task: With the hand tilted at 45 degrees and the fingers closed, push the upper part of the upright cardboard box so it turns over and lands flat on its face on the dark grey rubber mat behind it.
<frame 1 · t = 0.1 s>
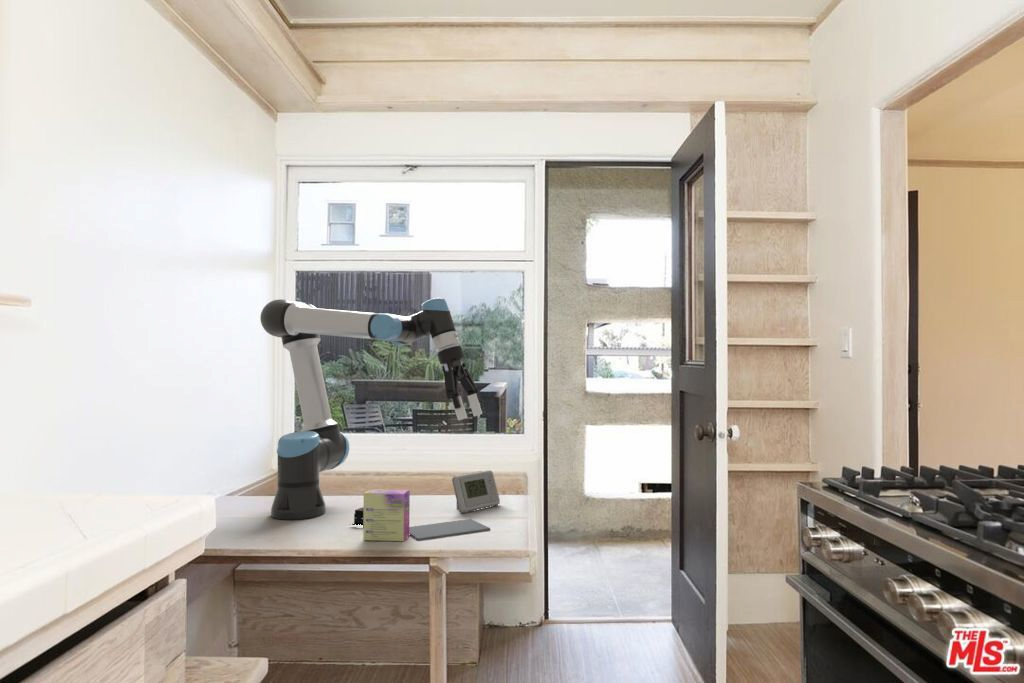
hand: (470, 417, 195), 28 cm above the table, tool tilted 20°, fingers open, 13 cm apart
digital clock: (476, 509, 199), on the table
box: (386, 539, 166), on the table
black slotted mount bracket: (363, 526, 182), on the table
mat: (445, 530, 174), on the table
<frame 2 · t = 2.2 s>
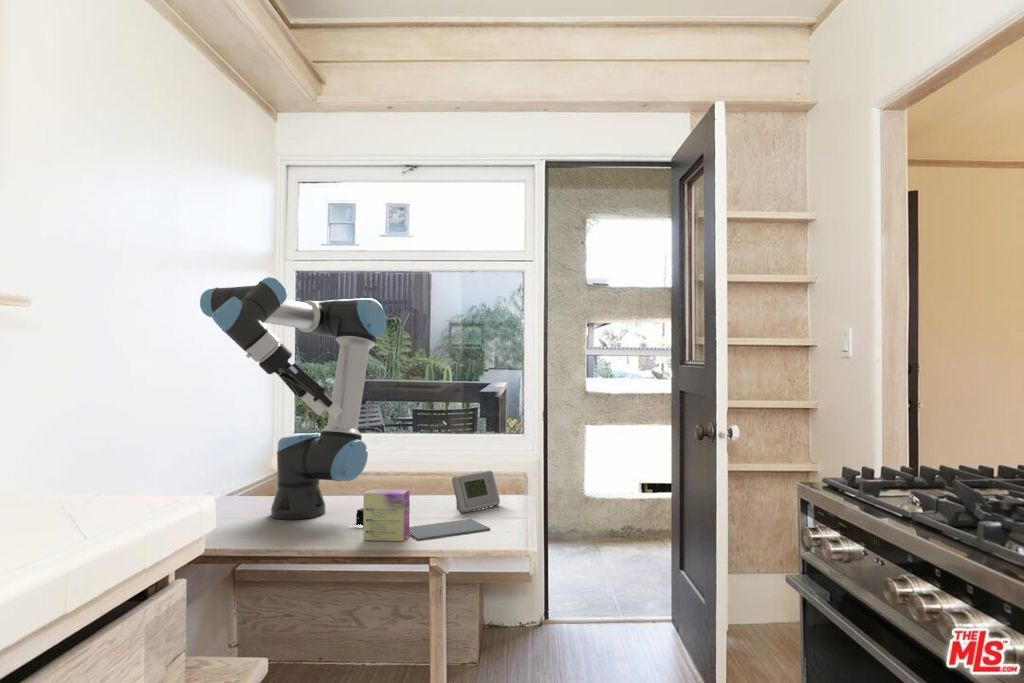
hand: (330, 413, 168), 31 cm above the table, tool tilted 45°, fingers open, 13 cm apart
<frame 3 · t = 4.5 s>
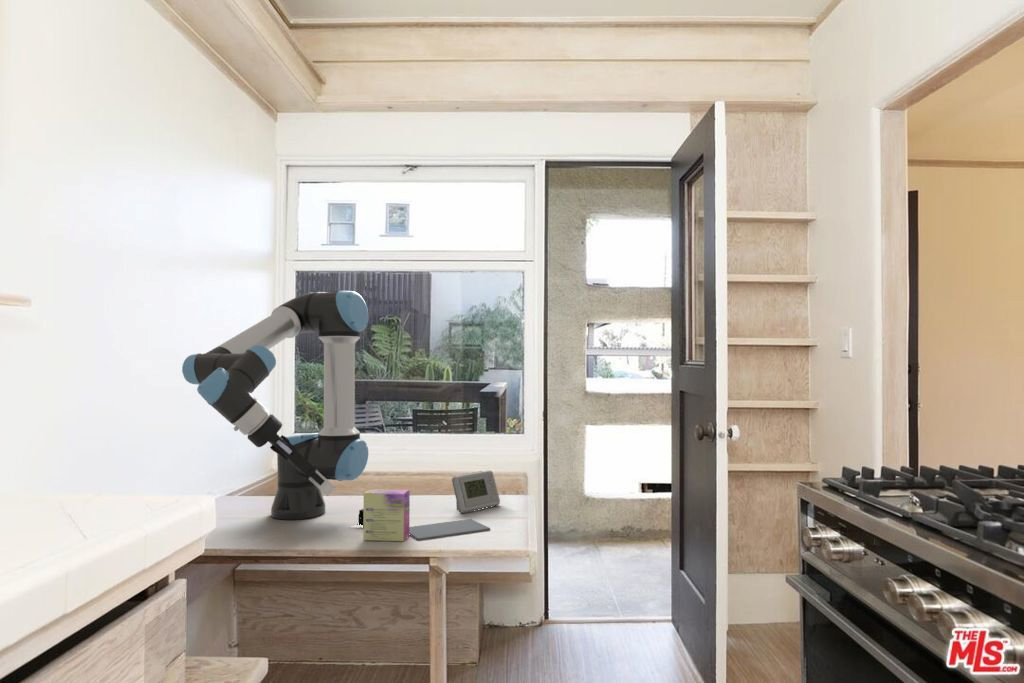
hand: (330, 491, 160), 13 cm above the table, tool tilted 45°, fingers closed
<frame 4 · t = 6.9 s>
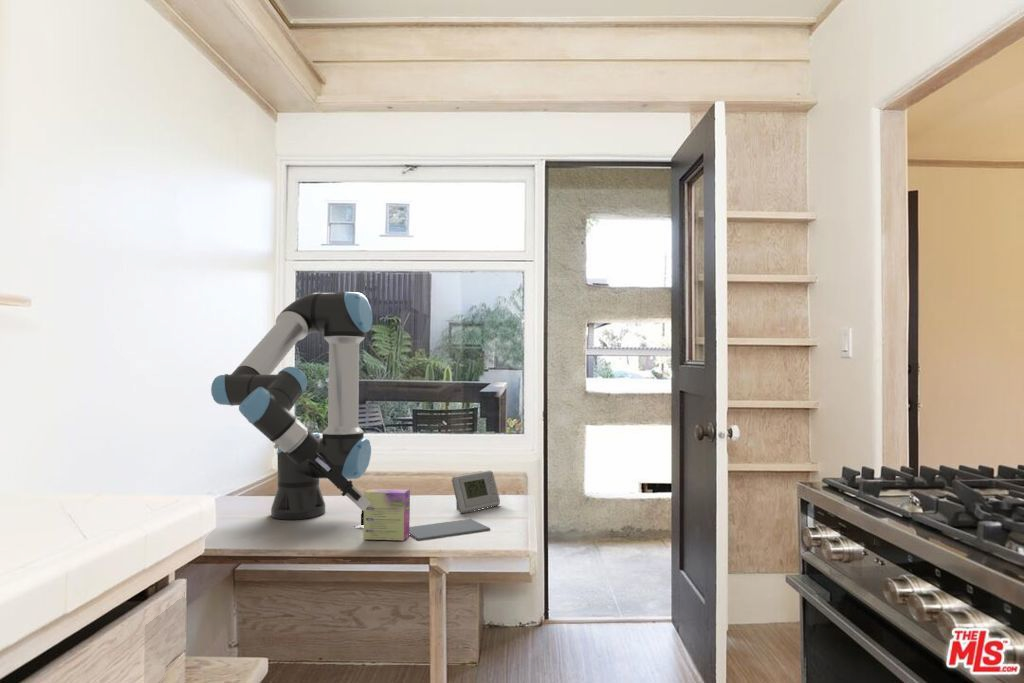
hand: (366, 506, 163), 9 cm above the table, tool tilted 45°, fingers closed
box: (386, 538, 166), on the table, touching gripper
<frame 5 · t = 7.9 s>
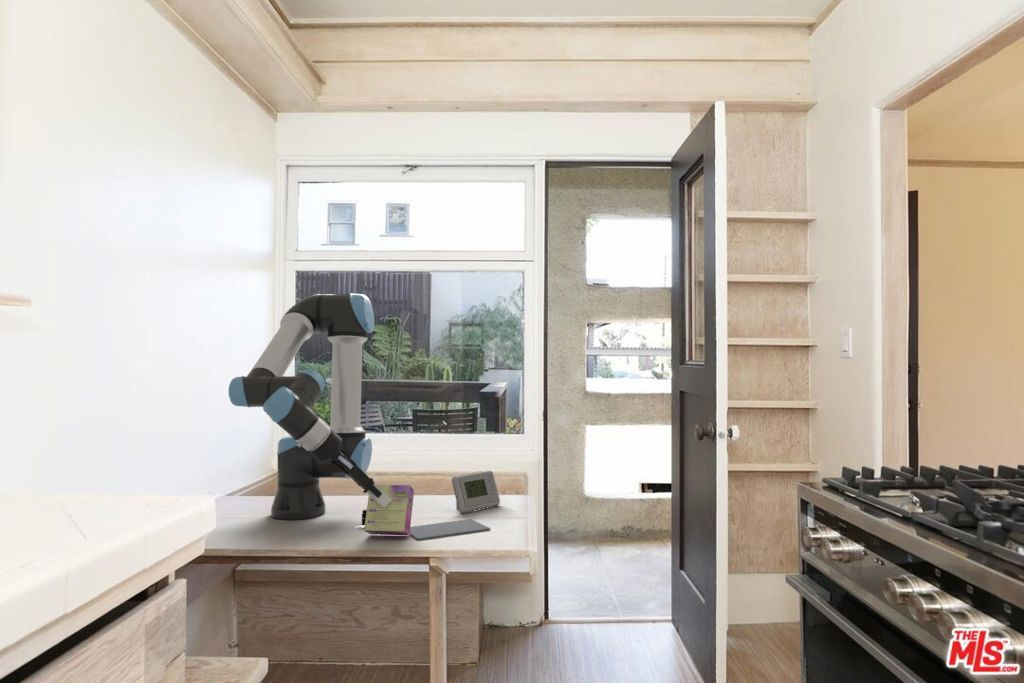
hand: (387, 503, 166), 9 cm above the table, tool tilted 45°, fingers closed
box: (386, 534, 167), point 1 cm above the table
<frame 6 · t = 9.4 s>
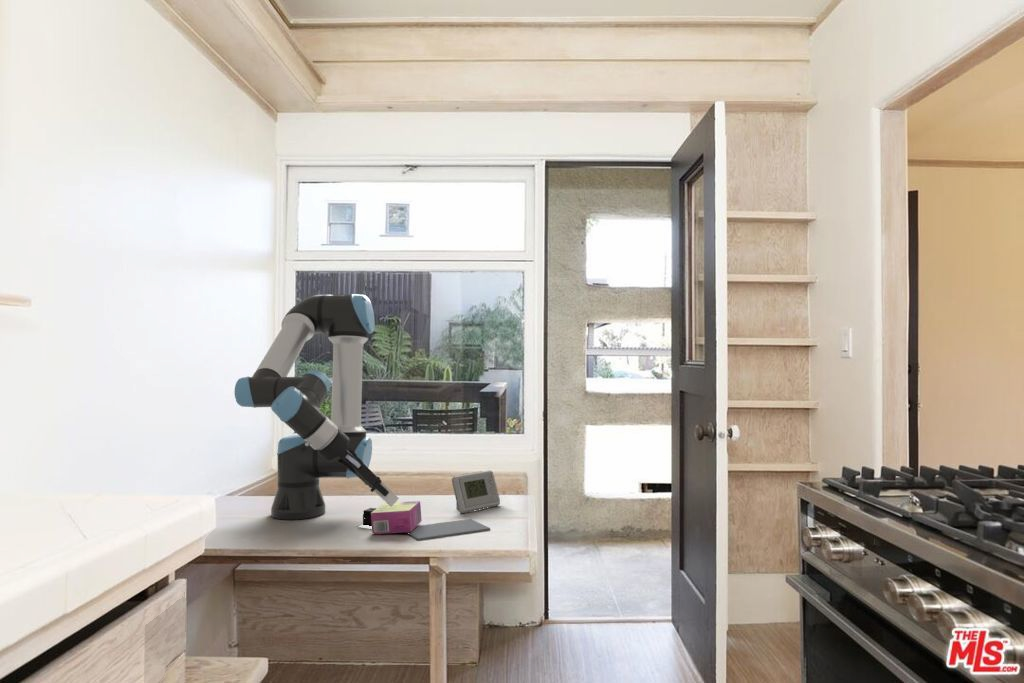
hand: (394, 501, 168), 9 cm above the table, tool tilted 45°, fingers closed
box: (390, 523, 169), point 3 cm above the table, touching mat
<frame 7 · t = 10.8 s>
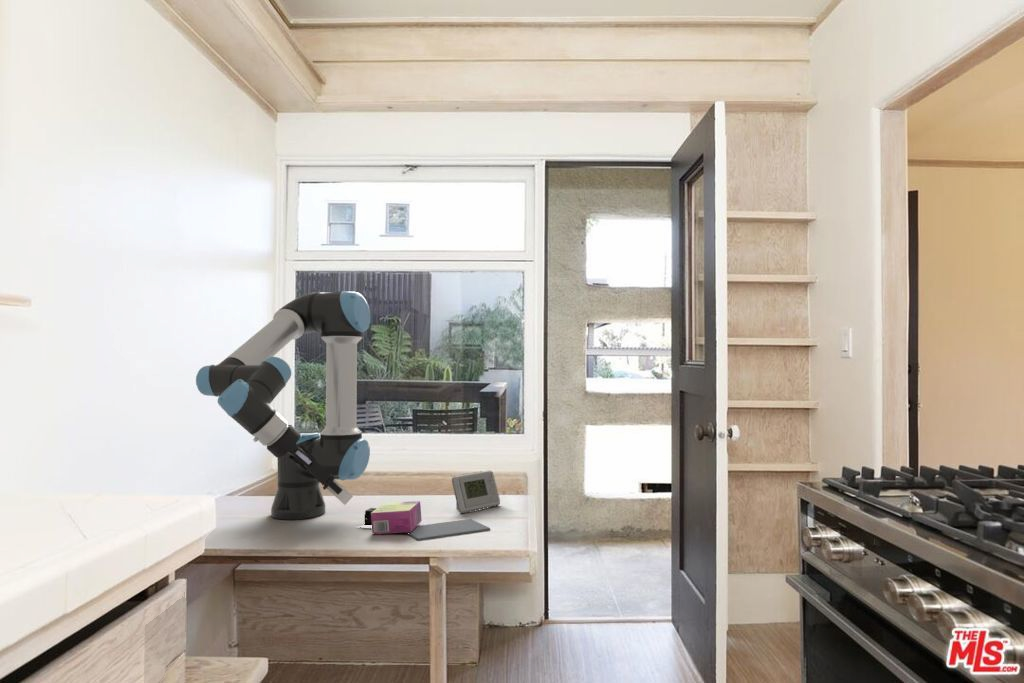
hand: (348, 500, 162), 11 cm above the table, tool tilted 45°, fingers closed
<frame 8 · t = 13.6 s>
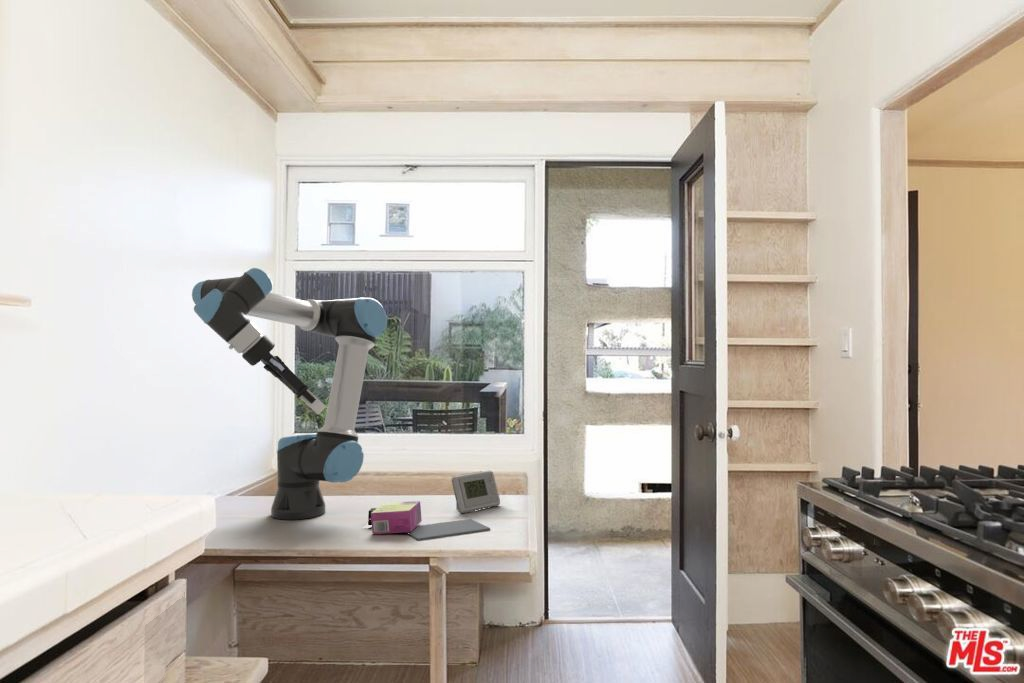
hand: (321, 410, 169), 32 cm above the table, tool tilted 45°, fingers closed
at the end: box tilted 89°; box inside the target area (12.0 cm from its centre), point 3.1 cm above the table; the gripper is holding nothing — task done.
